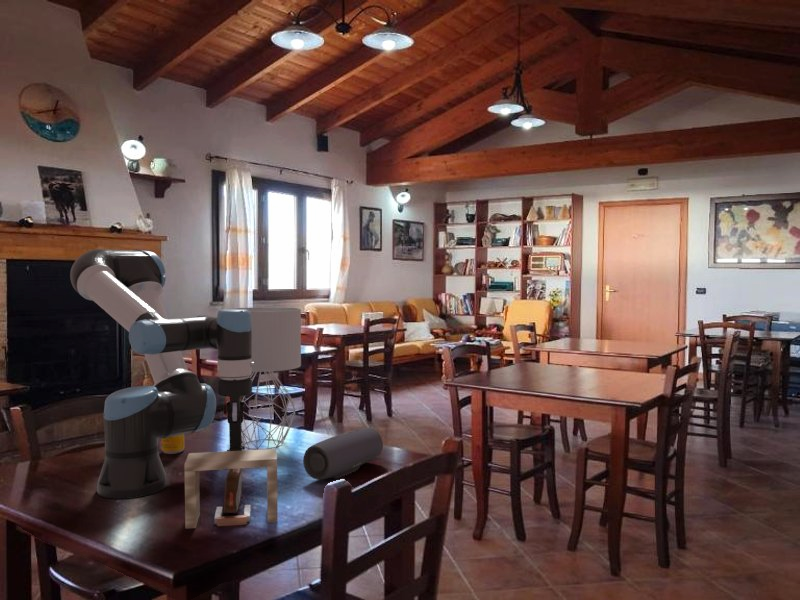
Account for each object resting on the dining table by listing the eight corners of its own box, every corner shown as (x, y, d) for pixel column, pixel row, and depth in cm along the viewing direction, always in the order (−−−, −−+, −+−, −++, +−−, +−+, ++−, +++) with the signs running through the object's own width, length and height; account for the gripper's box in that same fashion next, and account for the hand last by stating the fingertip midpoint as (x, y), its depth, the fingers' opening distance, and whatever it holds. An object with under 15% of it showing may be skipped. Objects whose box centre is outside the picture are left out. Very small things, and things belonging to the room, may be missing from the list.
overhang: (185, 528, 132) (184, 464, 132) (189, 514, 140) (189, 453, 140) (277, 522, 136) (277, 459, 136) (276, 508, 144) (276, 448, 143)
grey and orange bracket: (214, 526, 134) (213, 519, 134) (216, 512, 141) (216, 505, 141) (249, 524, 135) (249, 516, 135) (250, 510, 143) (250, 503, 143)
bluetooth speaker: (356, 459, 182) (356, 423, 181) (384, 464, 177) (384, 427, 176) (301, 481, 163) (300, 440, 162) (331, 488, 158) (331, 446, 157)
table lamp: (211, 443, 199) (209, 309, 197) (277, 431, 213) (276, 306, 211) (245, 459, 181) (244, 312, 180) (315, 445, 196) (315, 309, 194)
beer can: (158, 451, 189) (157, 398, 189) (178, 447, 194) (178, 396, 193) (167, 455, 185) (166, 402, 184) (188, 451, 189) (187, 399, 188)
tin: (230, 495, 152) (230, 459, 152) (244, 495, 152) (244, 458, 152) (222, 520, 137) (222, 479, 137) (238, 519, 138) (238, 479, 137)
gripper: (251, 381, 146) (252, 487, 147) (252, 372, 159) (253, 470, 160) (216, 382, 145) (217, 489, 146) (219, 373, 158) (220, 472, 159)
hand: (236, 479), depth 153 cm, fingers closed
